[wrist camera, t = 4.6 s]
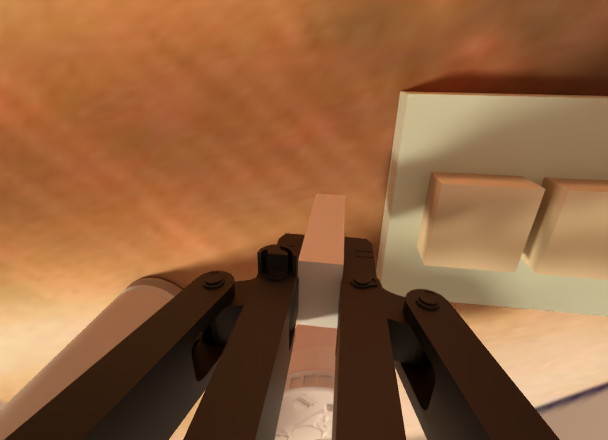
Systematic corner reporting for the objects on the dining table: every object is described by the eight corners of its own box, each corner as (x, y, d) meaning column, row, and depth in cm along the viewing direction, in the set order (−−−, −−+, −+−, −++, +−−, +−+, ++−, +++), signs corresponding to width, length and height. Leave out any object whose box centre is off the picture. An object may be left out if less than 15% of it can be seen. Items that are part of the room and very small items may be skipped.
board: (400, 91, 17) (408, 93, 15) (685, 97, 16) (742, 101, 13) (375, 273, 22) (378, 295, 20) (589, 291, 21) (618, 317, 19)
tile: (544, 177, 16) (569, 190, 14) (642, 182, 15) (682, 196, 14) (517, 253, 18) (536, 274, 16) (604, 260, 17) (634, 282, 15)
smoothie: (281, 321, 25) (216, 566, 13) (300, 256, 22) (241, 488, 10) (358, 343, 25) (369, 610, 13) (386, 281, 22) (437, 544, 10)
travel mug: (210, 297, 25) (-133, 856, 7) (182, 345, 28) (-116, 835, 10) (139, 259, 24) (-441, 775, 6) (118, 312, 27) (-330, 777, 9)
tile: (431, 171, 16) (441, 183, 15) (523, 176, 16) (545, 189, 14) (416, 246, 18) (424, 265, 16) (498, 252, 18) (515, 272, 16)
